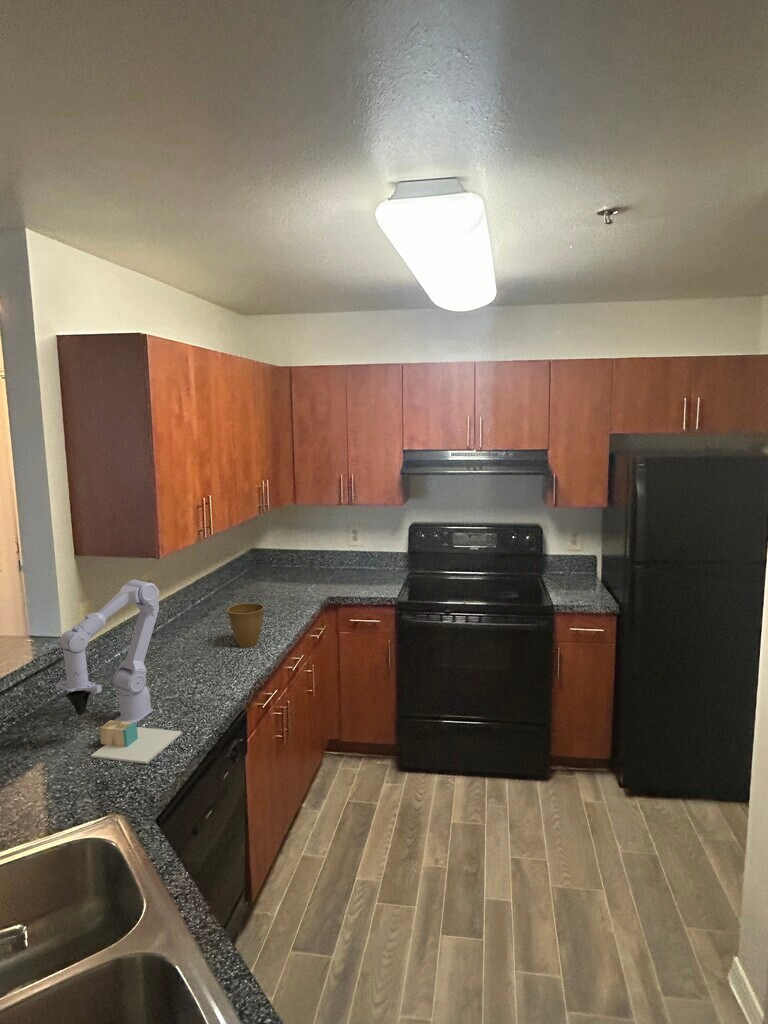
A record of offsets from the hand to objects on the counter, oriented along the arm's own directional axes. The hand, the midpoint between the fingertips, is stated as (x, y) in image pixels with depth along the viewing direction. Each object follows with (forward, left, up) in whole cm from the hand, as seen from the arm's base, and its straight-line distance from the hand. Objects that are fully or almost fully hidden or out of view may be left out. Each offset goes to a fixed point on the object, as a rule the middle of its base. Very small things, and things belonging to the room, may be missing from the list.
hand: (81, 713), depth 197 cm
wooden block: (+1, +9, -5) cm, 10 cm away
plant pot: (-85, +12, -8) cm, 86 cm away
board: (+1, +19, -8) cm, 21 cm away
